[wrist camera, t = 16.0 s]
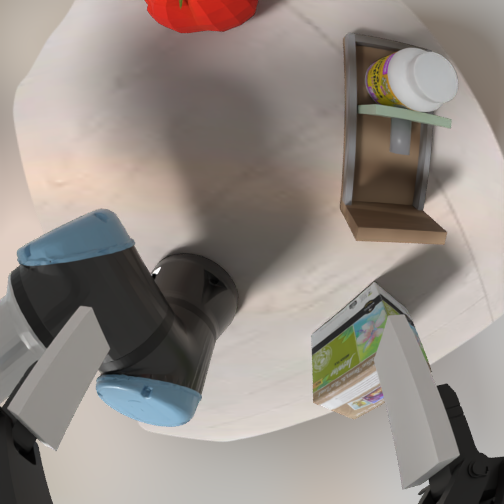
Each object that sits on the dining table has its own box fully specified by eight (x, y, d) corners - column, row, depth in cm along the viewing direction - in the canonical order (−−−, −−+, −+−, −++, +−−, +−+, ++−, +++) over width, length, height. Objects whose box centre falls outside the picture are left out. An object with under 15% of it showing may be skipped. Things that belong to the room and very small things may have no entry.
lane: (412, 213, 36) (444, 244, 27) (339, 208, 37) (356, 240, 28) (422, 54, 25) (460, 42, 16) (343, 38, 26) (363, 15, 17)
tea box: (372, 278, 41) (400, 346, 28) (407, 308, 43) (435, 372, 30) (308, 334, 48) (311, 405, 35) (346, 356, 50) (355, 422, 37)
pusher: (417, 152, 30) (447, 165, 23) (355, 144, 31) (374, 154, 24) (419, 115, 28) (451, 119, 21) (356, 105, 29) (376, 104, 22)
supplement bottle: (364, 55, 26) (403, 30, 15) (412, 67, 26) (467, 55, 14) (361, 104, 29) (401, 102, 18) (409, 115, 29) (464, 122, 17)
